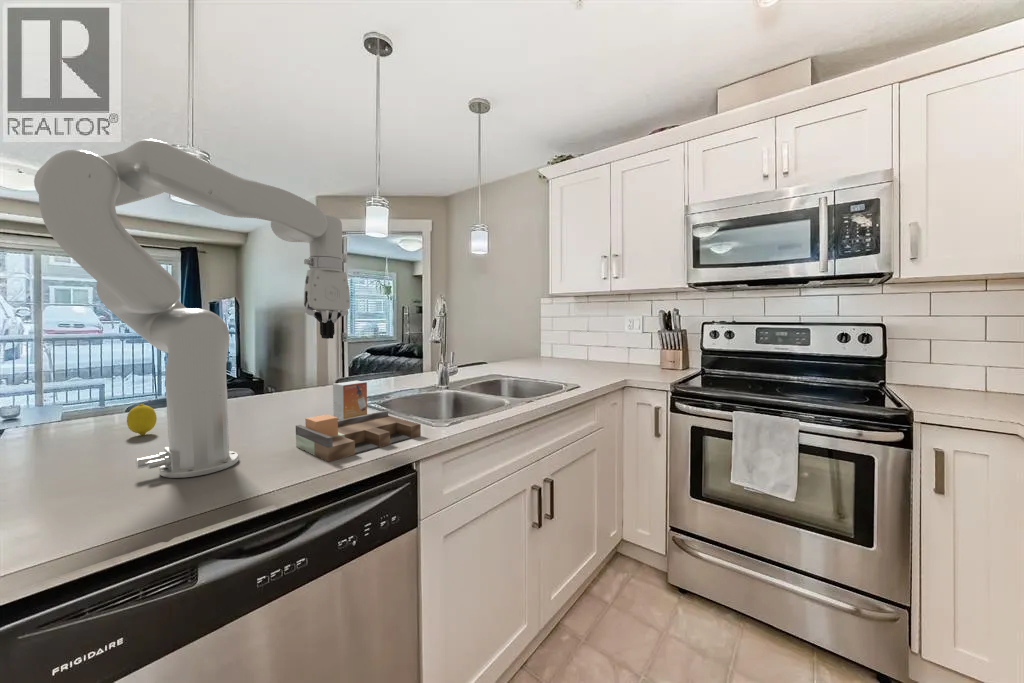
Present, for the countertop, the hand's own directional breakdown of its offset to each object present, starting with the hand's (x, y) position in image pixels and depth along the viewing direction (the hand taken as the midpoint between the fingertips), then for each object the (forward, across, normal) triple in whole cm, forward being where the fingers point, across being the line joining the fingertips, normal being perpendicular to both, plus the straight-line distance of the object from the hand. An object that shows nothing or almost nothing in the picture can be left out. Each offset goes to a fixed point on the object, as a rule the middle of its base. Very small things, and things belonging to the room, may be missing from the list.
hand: (327, 338), depth 103 cm
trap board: (+25, +2, -12) cm, 28 cm away
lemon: (+25, -32, +33) cm, 52 cm away
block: (+22, -6, -10) cm, 25 cm away
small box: (+25, +12, +11) cm, 30 cm away
